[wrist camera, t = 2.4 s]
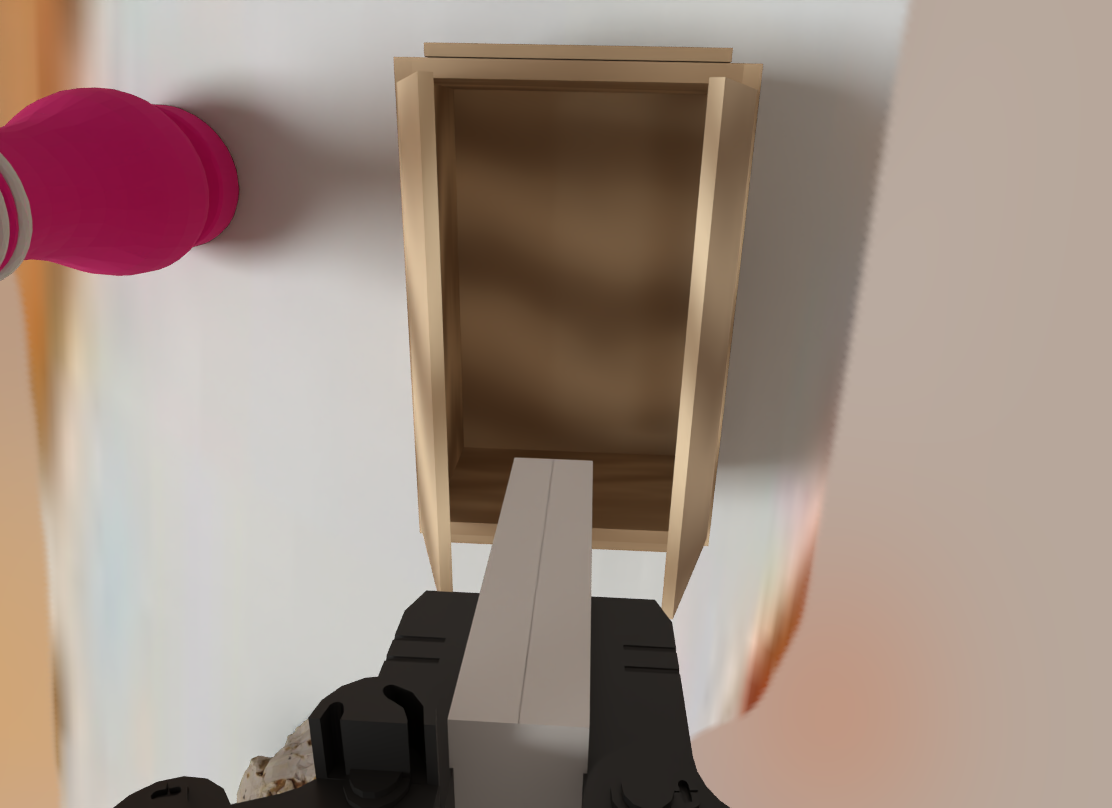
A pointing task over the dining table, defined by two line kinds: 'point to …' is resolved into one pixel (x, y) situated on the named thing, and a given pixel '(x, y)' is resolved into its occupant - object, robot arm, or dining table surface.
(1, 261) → the pepper mill
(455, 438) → the carton
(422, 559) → the dining table surface
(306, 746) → the rock
